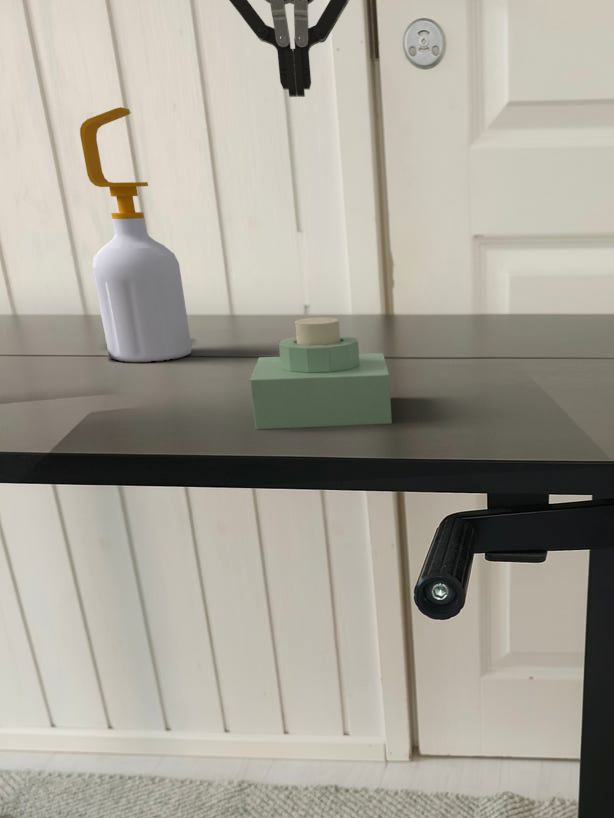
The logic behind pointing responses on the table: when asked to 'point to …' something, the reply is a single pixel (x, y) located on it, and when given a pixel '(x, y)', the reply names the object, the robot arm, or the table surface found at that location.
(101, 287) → the soap bottle
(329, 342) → the cylinder
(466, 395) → the table surface
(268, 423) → the dispenser
